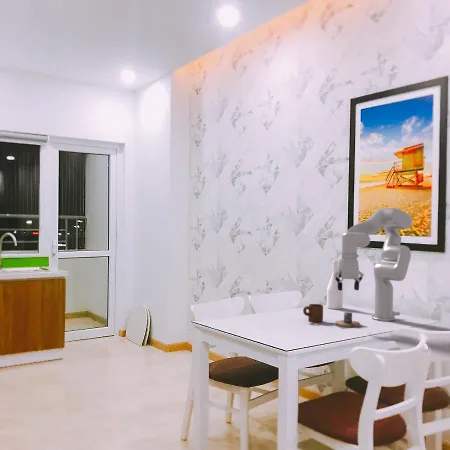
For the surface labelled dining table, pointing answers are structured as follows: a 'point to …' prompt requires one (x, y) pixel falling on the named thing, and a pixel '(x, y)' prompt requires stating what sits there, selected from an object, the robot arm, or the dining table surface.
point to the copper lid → (347, 321)
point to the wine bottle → (334, 290)
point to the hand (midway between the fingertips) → (348, 290)
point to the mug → (314, 313)
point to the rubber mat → (348, 327)
